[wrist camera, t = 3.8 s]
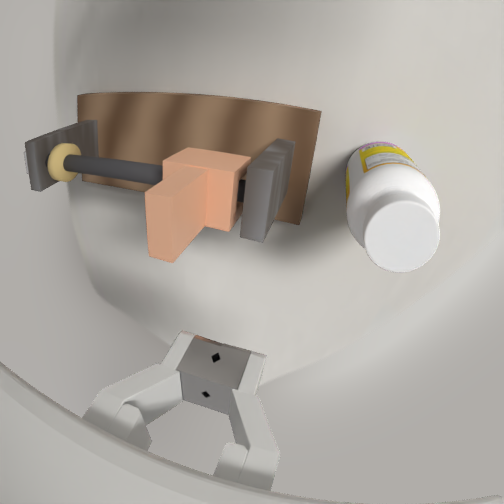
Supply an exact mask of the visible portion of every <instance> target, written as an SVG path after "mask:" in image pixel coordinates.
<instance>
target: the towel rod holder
mask: <svg viewBox="0 0 504 504" xmlns="http://www.w3.org/2000/svg"><path fill="white" fill-rule="evenodd" d="M77 103H78V123H76V124H73V125H70V126H67V127H64V128H61V129H58V130H56V131H53V132H50V133H47V134H45V135H42V136H39V137H37V138H34V139H32V140H29V141H27V142H25V148H26V157H27V164H28V171H29V177H30V184H31V190H35V191H40V192H41V191H43V190H44V189H46V188H48V187H50V186H51V185H53V184H55V183H57V182H59V181H58V180H54V179H53V178H52V177H51V176H50V174H49V171H48V168H47V167H46V164H45V161H46V157H47V155H48V154H50V153H51V151H52V150H53V148H54V147H55V146H57V145H58V144H61V143H68V144H75V145H76V146H77V147H78V148H79V149H80V152H81V155H83V156H92V157H101V158H110V159H118V160H126V161H134V162H141V163H148V164H155V165H162V166H163V160H165V159H167V158H169V157H170V156H172V155H174V154H176V153H178V152H180V151H182V150H184V149H186V148H187V147H190V148H197V149H204V150H211V151H218V152H224V153H230V154H236V155H242V156H248V157H251V163H250V165H249V166H248V167H247V173H246V174H245V175H244V176H243V177H242V179H243V180H246V184H245V194H244V203H243V212H242V222H241V231H240V237H241V238H245V239H250V240H254V241H258V242H262V243H263V241H264V239H265V237H266V235H267V233H268V231H269V229H270V227H271V225H272V223H273V221H274V219H275V220H279V221H283V222H288V223H292V224H296V225H299V224H300V221H301V217H302V212H303V207H304V202H305V197H306V192H307V187H308V182H309V177H310V172H311V166H312V161H313V156H314V150H315V145H316V139H317V134H318V128H319V122H320V116H321V111H318V110H313V109H308V108H302V107H297V106H291V105H285V104H279V103H273V102H266V101H259V100H251V99H243V98H235V97H225V96H215V95H202V94H187V93H164V92H111V93H89V94H82V95H78V96H77ZM82 181H86V182H91V183H97V184H103V185H109V186H114V187H120V188H125V189H130V190H136V191H141V192H146V191H148V190H149V189H151V188H152V187H153V186H155V185H150V184H144V183H138V182H133V181H127V180H121V179H115V178H109V177H102V176H96V175H90V174H83V173H82Z"/></svg>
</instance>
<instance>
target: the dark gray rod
mask: <svg viewBox="0 0 504 504" xmlns="http://www.w3.org/2000/svg"><path fill="white" fill-rule="evenodd" d="M24 156H25V164H26V171H27V174H29V171H28V164H27V157H26V151H25V152H24ZM45 164H46V167H47V168H48V171H49V174H50V176H51V177H52V178H53V179H54V180H58V181H63V182H68V181H71V180H73V179H74V178H75V177H76V175H77V174H78V173H83V174H90V175H96V176H102V177H109V178H115V179H121V180H127V181H133V182H138V183H144V184H150V185H156V184H158V183H159V182H161V181H162V180H163V166H162V165H155V164H148V163H141V162H134V161H126V160H118V159H110V158H101V157H92V156H83V155H81V152H80V149H79V148H78V147H77V146H76V145H75V144H68V143H61V144H58V145H57V146H55V147H54V148H53V150H52V151H51V153H50V154H48V155H47V157H46V161H45ZM245 184H246V180H243V179H241V180H240V181H239V184H238V194H237V202H242V203H244V194H245Z"/></svg>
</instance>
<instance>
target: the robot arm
mask: <svg viewBox="0 0 504 504" xmlns="http://www.w3.org/2000/svg"><path fill="white" fill-rule="evenodd" d="M266 356H267V355H264V354H260V353H257V352H253V351H250V350H246V349H243V348H239V347H235V346H231V345H228V344H222V343H219V342H216V341H213V340H210V339H207V338H204V337H201V336H198V335H195V334H192V333H189V332H186V331H183V330H182V331H181V332H180V333H179V334H178V336H177V338H176V339H175V341H174V343H173V344H172V346H171V348H170V349H169V351H168V353H167V354H166V356H165V358H164V359H163V361H162V363H161V364H158V363H156V364H154V365H152V366H150V367H148V368H146V369H144V370H142V371H139V372H137V373H135V374H133V375H131V376H129V377H127V378H125V379H123V380H121V381H118V382H116V383H114V384H112V385H110V386H108V387H106V388H103V389H101V390H100V392H99V393H98V395H97V396H96V398H95V399H94V401H93V402H92V404H91V406H90V407H89V408H88V410H87V411H86V413H85V414H84V416H83V417H82V418H81V417H79V416H77V415H76V414H74V413H72V412H71V411H69V410H67V409H66V408H64V407H62V406H61V405H59V404H58V403H56V402H55V401H53V400H52V399H50V398H49V397H47V396H46V395H44V394H43V393H41V392H40V391H38V390H37V389H35V388H34V387H33V386H31V385H30V384H29V383H27V382H26V381H24V380H23V379H22V378H20V377H19V376H18V375H16V374H15V373H14V372H13V371H11V370H10V369H9V368H7V367H6V366H5V365H4V364H2V363H1V362H0V504H363V503H349V502H337V501H328V500H320V499H313V498H306V497H300V496H294V495H289V494H283V493H278V492H273V491H271V487H272V483H273V480H274V476H275V472H276V468H277V465H278V461H279V457H280V452H279V449H278V447H277V444H276V442H275V439H274V436H273V434H272V431H271V428H270V426H269V423H268V420H267V418H266V415H265V412H264V409H263V407H262V404H261V401H260V398H259V396H257V395H256V394H257V391H258V388H259V384H260V380H261V376H262V373H263V369H264V365H265V361H266ZM183 400H185V401H188V402H191V403H194V404H198V405H201V406H204V407H207V408H210V409H213V410H215V411H218V412H221V413H224V414H227V415H229V419H230V422H231V426H232V430H233V434H234V438H235V442H236V443H232V442H230V443H228V444H226V445H225V447H224V450H223V452H222V455H221V457H220V460H219V462H218V465H217V467H216V470H215V472H214V475H213V476H212V475H209V474H206V473H203V472H200V471H197V470H194V469H191V468H189V467H186V466H183V465H180V464H178V463H175V462H172V461H170V460H167V459H165V458H162V457H160V456H157V455H155V454H153V453H150V452H148V448H149V447H150V445H151V442H152V440H151V437H150V435H149V433H148V430H147V428H146V425H147V424H149V423H150V422H152V421H154V420H155V419H157V418H158V417H160V416H161V415H163V414H164V413H166V412H167V411H169V410H171V409H172V408H174V407H175V406H177V405H178V404H180V403H181V402H183ZM428 504H504V498H502V497H501V496H499V495H494V496H487V497H482V498H476V499H469V500H462V501H452V502H442V503H428Z"/></svg>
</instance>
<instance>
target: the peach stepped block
mask: <svg viewBox="0 0 504 504" xmlns="http://www.w3.org/2000/svg"><path fill="white" fill-rule="evenodd" d="M250 163H251V157H248V156H242V155H236V154H230V153H224V152H218V151H211V150H204V149H197V148H190V147H187V148H186V149H184V150H182V151H180V152H178V153H176V154H174V155H172V156H170V157H169V158H167V159H165V160H163V180H162V181H161V182H159V183H158V184H156V185H155V186H153V187H152V188H151V189H149V190H148V191H146V192H145V208H146V225H147V239H148V251H149V256H150V257H153V258H157V259H160V260H164V261H167V262H171V263H174V261H175V260H176V259H177V258H178V257H179V255H180V254H181V253H182V252H183V251H184V250H185V248H186V247H187V246H188V245H189V244H190V243H191V241H192V240H193V239H194V238H195V237H196V236H197V234H198V233H199V232H200V231H201V230H202V229H203V227H204V226H206V227H211V228H215V229H219V230H223V231H228V232H229V231H230V230H231V228H232V227H233V226H234V224H235V223H236V221H237V220H238V219H239V217H240V216H241V214H242V212H243V203H242V202H237V194H238V184H239V181H240V180H241V179H242V177H243V176H244V175H245V174H246V173H247V167H248V166H249V165H250Z"/></svg>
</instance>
